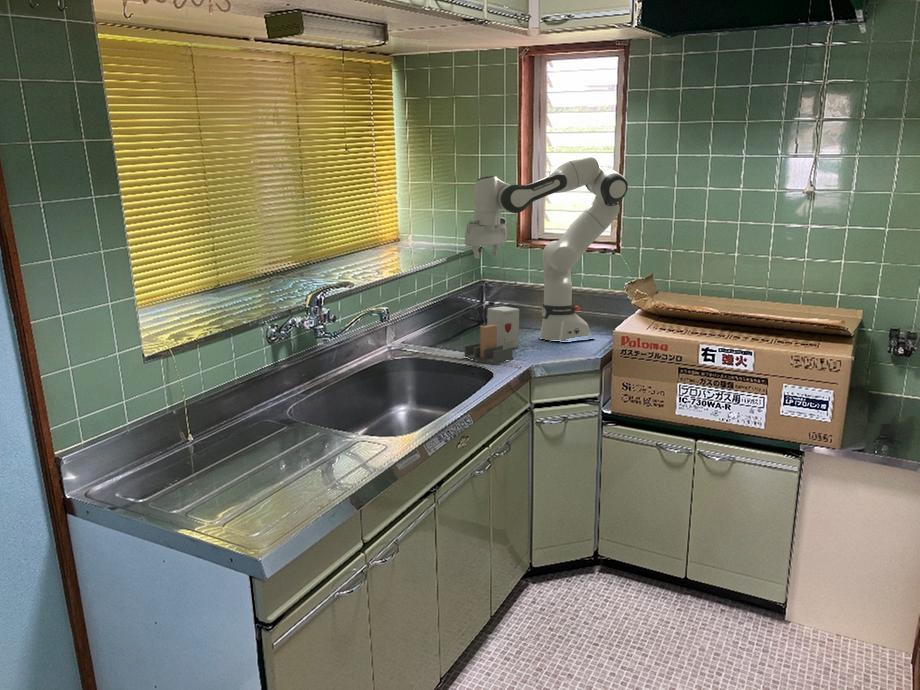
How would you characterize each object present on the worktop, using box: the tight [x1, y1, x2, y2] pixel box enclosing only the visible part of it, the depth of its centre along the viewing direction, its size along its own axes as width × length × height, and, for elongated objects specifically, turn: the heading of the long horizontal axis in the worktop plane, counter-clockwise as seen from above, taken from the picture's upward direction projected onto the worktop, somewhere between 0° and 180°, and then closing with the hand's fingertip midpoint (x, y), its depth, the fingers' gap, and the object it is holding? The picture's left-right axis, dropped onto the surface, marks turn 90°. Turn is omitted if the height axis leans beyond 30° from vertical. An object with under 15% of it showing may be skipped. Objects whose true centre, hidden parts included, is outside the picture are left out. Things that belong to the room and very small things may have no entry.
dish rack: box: [463, 342, 514, 366], centre depth 264 cm, size 11×14×4 cm
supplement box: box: [486, 306, 520, 349], centre depth 283 cm, size 9×9×15 cm
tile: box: [479, 324, 497, 358], centre depth 263 cm, size 6×2×11 cm, turn 137°
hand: (485, 257), depth 279 cm, fingers open, 8 cm apart
